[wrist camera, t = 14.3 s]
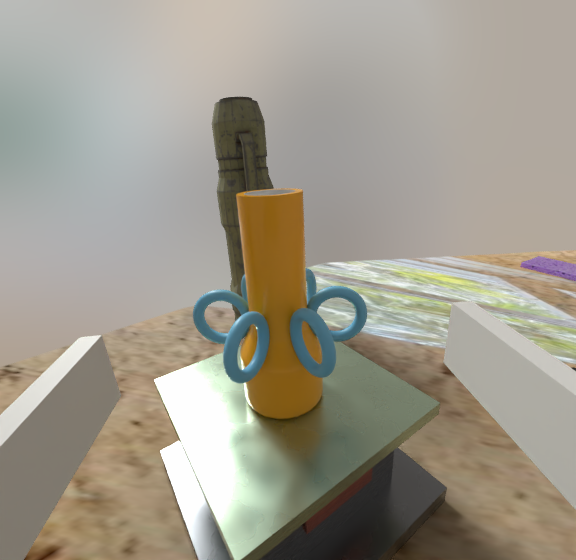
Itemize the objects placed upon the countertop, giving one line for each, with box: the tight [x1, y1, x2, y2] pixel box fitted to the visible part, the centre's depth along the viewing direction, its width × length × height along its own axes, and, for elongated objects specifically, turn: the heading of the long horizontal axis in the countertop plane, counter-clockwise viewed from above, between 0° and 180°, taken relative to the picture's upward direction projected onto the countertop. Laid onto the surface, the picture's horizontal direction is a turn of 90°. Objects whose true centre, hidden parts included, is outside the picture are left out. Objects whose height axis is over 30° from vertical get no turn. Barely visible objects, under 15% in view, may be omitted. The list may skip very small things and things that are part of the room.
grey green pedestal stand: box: [155, 342, 447, 560], centre depth 26 cm, size 18×18×10 cm
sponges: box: [521, 256, 576, 281], centre depth 69 cm, size 7×13×2 cm, turn 25°
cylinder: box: [193, 189, 367, 419], centre depth 22 cm, size 12×10×15 cm
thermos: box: [212, 97, 273, 321], centre depth 51 cm, size 9×12×35 cm
